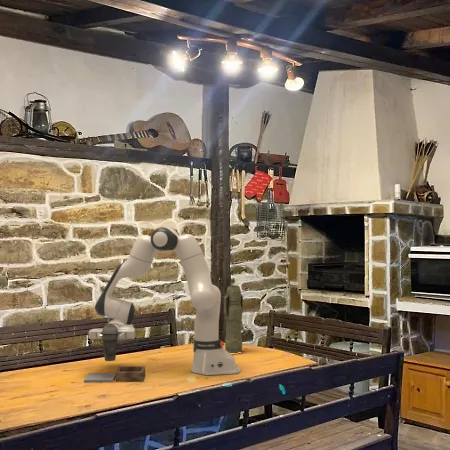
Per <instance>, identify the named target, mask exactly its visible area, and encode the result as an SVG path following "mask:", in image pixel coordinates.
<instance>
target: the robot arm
mask: <svg viewBox="0 0 450 450" xmlns="http://www.w3.org/2000/svg"><path fill="white" fill-rule="evenodd" d="M159 251H161V252H170V251H174V252H175V253H176V254H177V257H178V259H179V262H180V265H181V267H182V270H183V273H184V275H185V279H186V283H187V288H188V290H189V295H190V302H191V305H192V306H193V308H194V309H196V311H195V319H194V326H193V328H194V331H193V332H194V333H193V336H194V339H193V343H192V351H193V359H192V365H191V368H190V371H191V372H192V373H195V374H200V375H204V376H216V375H217V376H219V375H229V374H230V375H233V374H239V373H241V368H240V366H239V365H236V360H235V357H234V354H230V353H229V352H228V351H226V349H225V341H223V340H221V339H220V338H219V335H220V334H219V329H220V326H219V323H220V322H219V321H220V315H221V300H222V292H221V290H220V288H219V287H218V286H217V285H215V284H212V279H211V274H210V269H209V266H208V264H207V260H206V259H205V256H204V253H203V251H202V248H201V246H200V244H199V242H198V240H197V239H196V237H195V236H194V235H193V234H191V233H190V234H189V233H187V234H186V233H184V234H181V235H180V232H178V230H176V229H175V228H173V227H168V226H160V227H158V228H156V229H154V230H153V231H152V232H151V235H146V234H142V235H139V236H138V237H137V238H136V240H135V242H134V244H133V245H132V247H131V250H130V253H129V256H128V258H127V259H126V260H125V261H124V262H121V263H119V264H118V265H117V266H116V268H115V270H114V271H113V273H112V274H111V277H110V278H109V280H108V282H107V284H106V286H105V287H104V288H103V291H102V292H101V294H100V295H99V296H98V298H97V300H96V302H95V303H94V310H95V312H96V313H97V314H98V315H99V316H101V317H102V316H103V317H107V314H108V316H109V319H112V320H109V324H114V325H115V326H116V327H117V329H118V333H119V334H118V338H117V342H119V341H120V342H121V341H122V340H123V341H124V340H134V339H135V338H136V332H135V331H136V330H135V329H136V328H135V327H134V324H132V322H133V320H134V317H135V315H136V314H135V313H136V308H135V305H134V303H133V302H130V301H128V300H124V299H121V298H118V297H116V296H113V295H112V293H113V292H114V290H115V289H116V287H117V285H118V284H119V281H121V280H122V279H125V278H138V277H139V278H140V277H143V276H145V275H146V274H147V273H148V272H149V270H150V269H151V266H152V264H153V261H154V258H155V256H156V255H157V254H156V253H158V252H159ZM102 330H103V328H92V329H89V331H88V339H90V340H103V338H102Z"/></svg>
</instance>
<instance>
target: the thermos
mask: <svg viewBox="0 0 450 450" xmlns="http://www.w3.org/2000/svg"><path fill="white" fill-rule="evenodd" d="M225 292H226V294H225V295H224V298H223V314H224V317H225V318H224V319H225V340H224V349H225V350H226V351H228V352H229V353H238V352H241V351H242V349H243V338H242V321H243V314H244V295H243V293H242V291H241V288H240V286H238V285H228V286H227V288H226V291H225ZM242 352H243V351H242Z"/></svg>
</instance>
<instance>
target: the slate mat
mask: <svg viewBox="0 0 450 450" xmlns="http://www.w3.org/2000/svg"><path fill="white" fill-rule="evenodd" d="M113 380H114V381H115V380H116V372H99V373H97V372H95V373H93V372H92V373H91V372H90V373H88V374H87V375H86V377H85V378H84V380H83V383H113V382H114V381H113Z"/></svg>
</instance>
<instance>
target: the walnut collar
mask: <svg viewBox="0 0 450 450" xmlns="http://www.w3.org/2000/svg"><path fill="white" fill-rule="evenodd" d="M115 373H116V377H115V383H131V382H132V383H135V382H136V383H137V382H139V383H140V382H142V383H143V382H144V381H145V377H146V365H139V366H137V365H133V366H132V365H131V366H130V365H129V366H126V365H125V366H123V365H122V366H118V368H117V370H116V371H115Z"/></svg>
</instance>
